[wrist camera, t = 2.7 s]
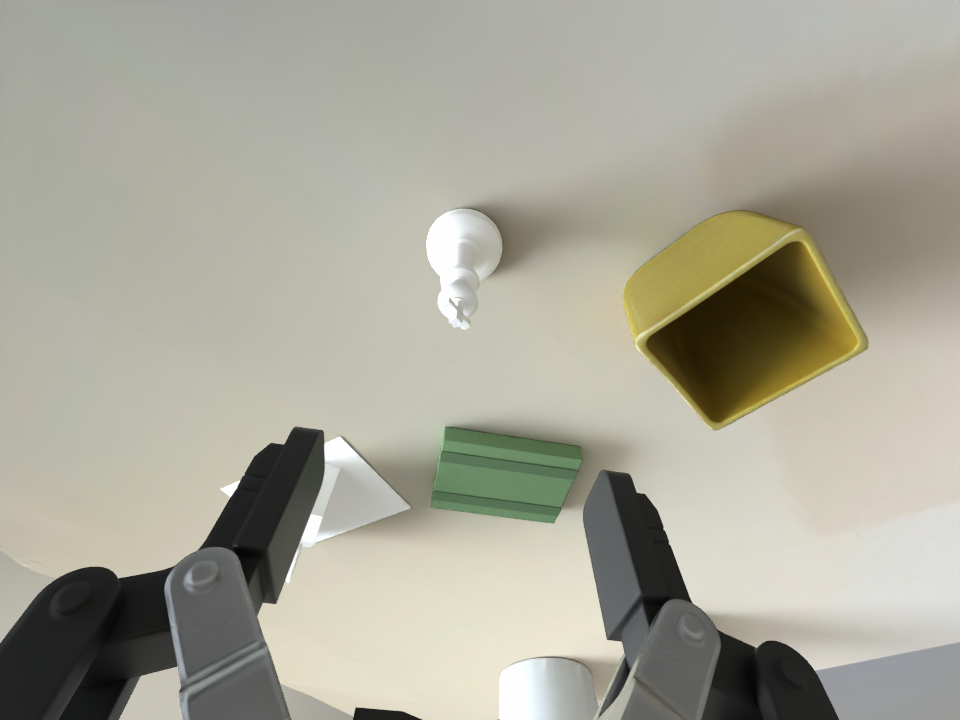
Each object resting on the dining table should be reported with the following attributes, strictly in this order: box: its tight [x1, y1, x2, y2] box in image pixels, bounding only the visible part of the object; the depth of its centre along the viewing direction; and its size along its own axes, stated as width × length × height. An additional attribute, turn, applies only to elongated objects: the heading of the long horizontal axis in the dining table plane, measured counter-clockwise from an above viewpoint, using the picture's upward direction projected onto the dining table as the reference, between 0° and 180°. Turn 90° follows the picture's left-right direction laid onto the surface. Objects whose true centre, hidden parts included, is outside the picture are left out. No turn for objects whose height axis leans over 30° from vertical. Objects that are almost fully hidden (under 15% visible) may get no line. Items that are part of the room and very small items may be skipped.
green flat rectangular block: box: [431, 427, 583, 524], centre depth 40 cm, size 12×9×2 cm
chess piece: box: [427, 209, 502, 331], centre depth 25 cm, size 5×5×10 cm
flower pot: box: [623, 210, 868, 430], centre depth 26 cm, size 9×9×9 cm
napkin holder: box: [221, 437, 411, 583], centre depth 41 cm, size 15×11×6 cm
